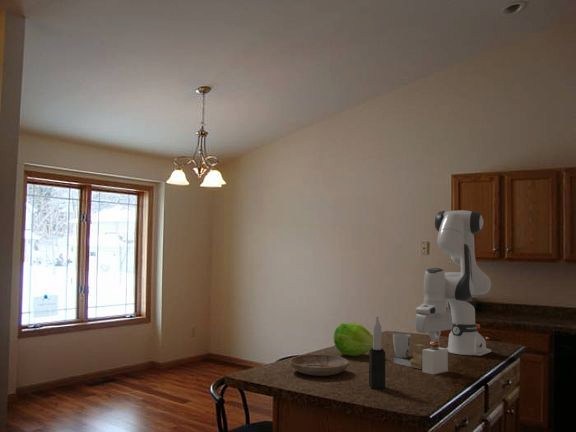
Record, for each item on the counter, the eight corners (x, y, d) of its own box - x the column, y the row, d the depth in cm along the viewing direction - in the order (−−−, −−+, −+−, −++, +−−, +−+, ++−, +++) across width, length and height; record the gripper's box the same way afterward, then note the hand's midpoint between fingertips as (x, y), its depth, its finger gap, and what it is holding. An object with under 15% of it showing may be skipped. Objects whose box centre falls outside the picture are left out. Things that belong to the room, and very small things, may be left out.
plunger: (433, 355, 213) (433, 341, 213) (442, 357, 210) (442, 342, 210) (427, 357, 211) (427, 342, 211) (436, 358, 207) (436, 343, 208)
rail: (396, 362, 227) (396, 357, 227) (431, 370, 212) (431, 365, 212) (393, 362, 226) (393, 358, 226) (428, 370, 211) (428, 365, 211)
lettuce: (367, 365, 229) (369, 332, 228) (326, 356, 239) (327, 324, 238) (379, 355, 244) (381, 324, 243) (340, 346, 254) (342, 316, 252)
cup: (410, 358, 235) (410, 336, 236) (392, 357, 237) (392, 335, 237) (410, 355, 243) (410, 333, 244) (392, 354, 245) (392, 333, 245)
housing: (437, 368, 215) (437, 347, 215) (447, 371, 211) (447, 348, 212) (422, 372, 209) (422, 349, 209) (432, 374, 205) (432, 351, 205)
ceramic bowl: (280, 368, 211) (280, 356, 212) (331, 364, 221) (331, 352, 221) (305, 382, 190) (305, 368, 191) (359, 377, 200) (359, 363, 200)
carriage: (417, 365, 220) (417, 343, 220) (427, 367, 216) (427, 345, 216) (410, 366, 217) (410, 344, 217) (420, 368, 213) (420, 346, 213)
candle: (368, 385, 186) (368, 315, 188) (382, 385, 187) (382, 315, 189) (371, 389, 181) (372, 317, 183) (386, 389, 182) (386, 317, 184)
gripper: (443, 306, 220) (443, 338, 219) (412, 308, 208) (413, 343, 207) (456, 307, 215) (456, 341, 214) (425, 310, 203) (426, 345, 202)
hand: (434, 342), depth 210 cm, fingers closed, pressing on plunger
